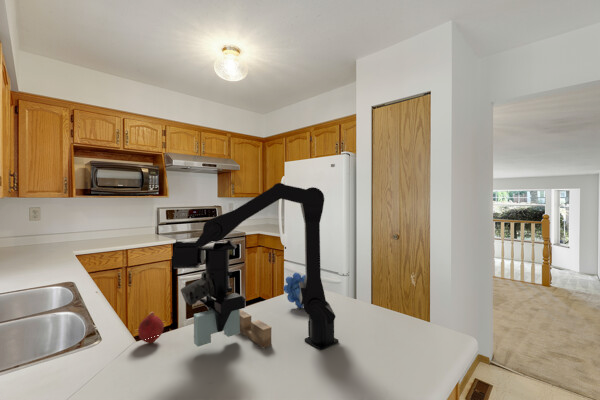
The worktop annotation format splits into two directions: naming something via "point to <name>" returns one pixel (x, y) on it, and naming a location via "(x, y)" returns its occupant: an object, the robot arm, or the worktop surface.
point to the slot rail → (255, 330)
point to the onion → (150, 328)
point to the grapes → (294, 288)
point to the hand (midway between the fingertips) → (217, 329)
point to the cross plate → (213, 326)
